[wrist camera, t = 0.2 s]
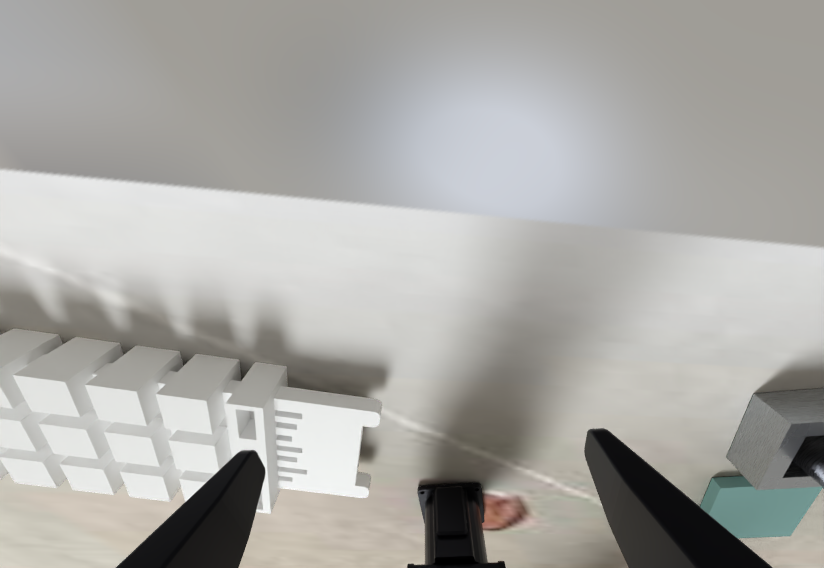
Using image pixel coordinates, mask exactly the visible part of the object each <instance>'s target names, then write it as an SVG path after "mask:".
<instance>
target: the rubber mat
mask: <svg viewBox="0 0 824 568" xmlns="http://www.w3.org/2000/svg"><path fill="white" fill-rule="evenodd" d="M822 488H823V487H808V488H789V489H770V490H756V489H755V488H754V487H753V486H752V485H751V484H750V483H749V481H748V480H747V479H746V478H745V477H744V476H735V477H718V478H712V479H711V482H710V484H709V486H708V489H707V491H706V494H705V496H704V498H703V501H702V503H701V505H700V507H701V508H702V509H703V510H704V511H705V512H707V513H708V514H709V515H710V516H711V517H713V518H714V519H715V520H716V521H717V522H719V523H720V524H721V525H722V526H723V527H725V528H726V529H727V530H728V531H729V532H731V533H732V534H733V535H734V536H735V537H737V538H756V537H781V536H791V534H792V533H793V531H794V530H795V528H796V527H797V525H798V524H799V522H800V521H801V519H802V518H803V516H804V515H805V513H806V512H807V510H808V509H809V507H810V506H811V504H812V503H813V501H814V500H815V498H816V497H817V495H818V494H819V492H820V491H821V489H822Z"/></svg>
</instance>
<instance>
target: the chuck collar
mask: <svg viewBox="0 0 824 568" xmlns="http://www.w3.org/2000/svg"><path fill="white" fill-rule="evenodd" d="M822 435H824V388H820V389H807V390H794V391H781V392H769V393H756V394H753V396H752V399H751V401H750V403H749V406H748V408H747V410H746V413H745V415H744V417H743V420H742V422H741V424H740V427H739V429H738V431H737V434H736V436H735V438H734V441H733V443H732V445H731V448H730V450H729V452H728V455H727V457H726V458H727V459H728V460H729V461H730V462H731V463H732V464H733V465H734V466H735V467H736V468H737V470H738V471H739V472H740V473H741V474H742V475H743V476H744V477H745V478H746V479H747V480H748V481H749V483H750V484H751V485H752V486H753V487H754V488H755V489H756V490H770V489H789V488H808V487H822V486H820V485H819V484H818V483H817V482H816V481H815V480H814V479H813V478H812V477H810V476H809V475H808V474H807V473H806V472H805V471H804V470H803V469H802V468H800V467H799V466H798V465H797V464H796V463H795V462H794V461H793V458H794V457H795V455H796V453H797V451H798V450H799V448H800V446H801V444H802V443H803V441H804V439H805V437H807V436H822Z"/></svg>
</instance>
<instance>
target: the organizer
mask: <svg viewBox="0 0 824 568" xmlns="http://www.w3.org/2000/svg"><path fill="white" fill-rule="evenodd" d="M381 409H382V403H381V401H380V400H378V399H372V398H365V397H358V396H350V395H343V394H336V393H328V392H321V391H314V390H306V389H299V388H292V387H287V366H281V365H274V364H267V363H260V362H255V363H254V364H253V365H252V367H251V368H250V370H249V371H248V372H247V374H246V375H245V377H244V378H243V379H242V381H241V372H240V363H239V360H238V359H231V358H224V357H217V356H210V355H203V354H195V355H194V356H193V357H192V358H191V359H190V360H189V361H188V362H187V363H186V364H185V365H184V366H183V363H182V359H181V354H180V351H174V350H167V349H160V348H152V347H145V346H138V345H136V346H135V347H133V348H132V349H131V350H130V351H128V352H127V353H126V354H123V351H122V348H121V345H120V343H117V342H109V341H102V340H95V339H88V338H81V337H75V338H73V339H71V340H70V341H68V342H66V343H65V344H63V343H62V341H61V338H60V336H59V334H52V333H45V332H38V331H30V330H23V329H16V328H14V329H11V330H9V331H7V332H5V333H3V334H1V333H0V480H1V479H2V478H4V477H5V476H6V475H7V474H8V473H9V474H10V476H11V477H12V479H13V480H14V482H15V483H19V484H28V485H36V486H44V487H53V488H58V487H59V486H60V485H61V484H62V483H63V482H64V481H65V480H66V479H67V480H68V482H69V484H70V485H71V487H72V489H73V490H77V491H86V492H94V493H102V494H111V495H115V493H116V492H117V491H118V490H119V489H120V487H121V486H122V485H123V484H125V486H126V489H127V491H128V494H129V496H130V497H136V498H144V499H152V500H161V501H169V502H171V500H172V499H173V497H174V496H175V494H176V493H177V491H178V490H179V488H180V487H181V488H182V492H183V495H184V499H185V502H186V501H187V500H188V499H189V498H190V497H191V496H192V495H193V494H194V493H195V492H197V491H198V490H199V489H200V488H201V487H202V486H203V485H204V484H205V483H206V482H207V481H208V480H209V479H210V478H211V477H212V476H214V475H215V474H216V473H217V472H218V471H219V470H220V469H221V468H222V467H223V466H224V465H225V464H226V463H227V462H228V461H229V460H230V459H232V458H233V457H234V456H235V455H236V454H237V453H238V452H240V451H243V450H255V451H256V452H257V453H258V455H259V457H260V459H261V461H262V463H263V465H264V467H265V479H264V483H263V486H262V490H261V494H260V498H259V502H258V505H257V509H256V512H261V513H269V514H271V512H272V509H273V507H274V504H275V502H276V499H277V497H278V494H279V492H280V489H281V488H284V489H293V490H301V491H309V492H317V493H325V494H333V495H341V496H349V497H357V498H366V497H367V496H368V493H369V487H370V480H371V476H370V474H368V473H364V472H358V466H359V457H360V449H361V441H362V433H363V426H365V427H377V426H378V425H379V422H380V416H381Z"/></svg>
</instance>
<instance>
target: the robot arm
mask: <svg viewBox="0 0 824 568" xmlns="http://www.w3.org/2000/svg"><path fill="white" fill-rule="evenodd" d="M584 452H585V458H586V461H587V464H588V467H589V469H590V472H591V475H592V478H593V481H594V483H595V486H596V489H597V492H598V495H599V497H600V500H601V503H602V506H603V509H604V511H605V514H606V517H607V520H608V522H609V525H610V527H611V530H612V532H613V534H614V536H615V539H616V541H617V543H618V545H619V547H620V549H621V552H622V554H623V556H624V558H625V560H626V562H627V564H628V567H629V568H772V567H771V566H770V565H769V564H768V563H766V562H765V561H764V560H763V559H762V558H761V557H759V556H758V555H757V554H756V553H755V552H753V551H752V550H751V549H750V548H749V547H747V546H746V545H745V544H744V543H743V542H741V541H740V540H739V539H738V538H737V537H735V536H734V535H733V534H732V533H731V532H729V531H728V530H727V529H726V528H725V527H723V526H722V525H721V524H720V523H719V522H717V521H716V520H715V519H714V518H713V517H711V516H710V515H709V514H708V513H707V512H705V511H704V510H703V509H702V508H701V507H699V506H698V505H697V504H696V503H695V502H693V501H692V500H691V499H690V498H689V497H687V496H686V495H685V494H684V493H683V492H681V491H680V490H679V489H678V488H677V487H675V486H674V485H673V484H672V483H671V482H669V481H668V480H667V479H666V478H665V477H663V476H662V475H661V474H660V473H659V472H657V471H656V470H655V469H654V468H653V467H651V466H650V465H649V464H648V463H647V462H645V461H644V460H643V459H642V458H641V457H639V456H638V455H637V454H636V453H635V452H633V451H632V450H631V449H630V448H629V447H627V446H626V445H625V444H624V443H623V442H621V441H620V440H619V439H618V438H617V437H615V436H614V435H613V434H612V433H611V432H609V431H608V430H606V429H603V428H600V429H590V430H588V432H587V437H586V443H585V450H584ZM264 479H265V467H264V465H263V463H262V461H261V459H260V457H259V455H258V453H257V452H256V451H255V450H243V451H240V452H238V453H237V454H236V455H235V456H234V457H233V458H232V459H230V460H229V461H228V462H227V463H226V464H225V465H224V466H223V467H222V468H221V469H220V470H219V471H218V472H217V473H216V474H215V475H214V476H212V477H211V478H210V479H209V480H208V481H207V482H206V483H205V484H204V485H203V486H202V487H201V488H200V489H199V490H198V491H197V492H195V493H194V494H193V495H192V496H191V497H190V498H189V499H188V500H187V501H186V502H185V503H184V504H183V505H182V506H181V507H180V508H179V509H177V510H176V511H175V512H174V513H173V514H172V515H171V516H170V517H169V518H168V519H167V520H166V521H165V522H164V523H163V524H162V525H161V526H159V527H158V528H157V529H156V530H155V531H154V532H153V533H152V534H151V535H150V536H149V537H148V538H147V539H146V540H145V541H144V542H142V543H141V544H140V545H139V546H138V547H137V548H136V549H135V550H134V551H133V552H132V553H131V554H130V555H129V556H128V557H127V558H126V559H124V560H123V561H122V562H121V563H120V564H119V565H118V566H117V567H116V568H238V567H239V564H240V561H241V559H242V556H243V553H244V550H245V547H246V544H247V541H248V538H249V535H250V531H251V528H252V524H253V520H254V517H255V513H256V509H257V505H258V502H259V498H260V494H261V490H262V486H263V483H264ZM418 497H419V501H420V506H421V510H422V515H423V519H424V523H425V565H414V564H408V566H407V568H506V567H505V563H504V561H498V563H488V561H487V554H486V548H485V541H484V534H483V528H482V523H483V522H484V510H483V498H482V488H481V484H480V483H463V484H446V485H429V486H420V487H418Z"/></svg>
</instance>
